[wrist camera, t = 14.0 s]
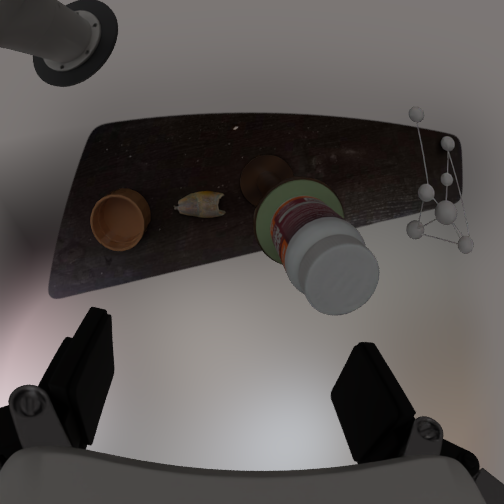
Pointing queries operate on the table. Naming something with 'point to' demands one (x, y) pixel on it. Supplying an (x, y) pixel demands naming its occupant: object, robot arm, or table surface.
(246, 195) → the stand
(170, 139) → the table surface
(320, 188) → the coaster
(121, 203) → the bowl
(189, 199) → the cream hollow shell
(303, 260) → the pill bottle
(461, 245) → the molecule model
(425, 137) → the table surface
